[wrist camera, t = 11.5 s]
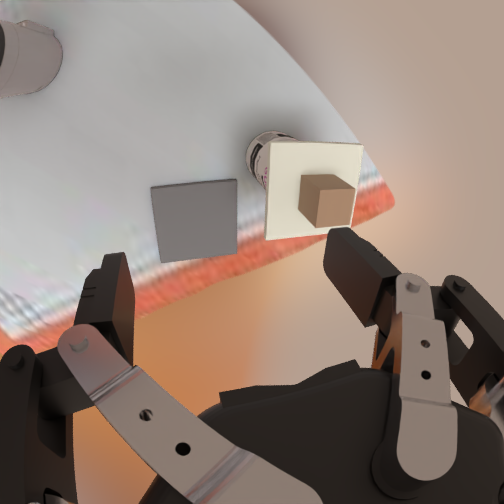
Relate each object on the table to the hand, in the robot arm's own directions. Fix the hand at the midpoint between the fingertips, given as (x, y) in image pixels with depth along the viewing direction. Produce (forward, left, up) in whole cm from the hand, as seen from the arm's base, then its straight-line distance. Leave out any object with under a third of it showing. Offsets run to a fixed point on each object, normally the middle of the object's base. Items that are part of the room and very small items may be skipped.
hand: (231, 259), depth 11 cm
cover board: (+5, +13, -19) cm, 24 cm away
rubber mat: (+15, +1, -34) cm, 37 cm away
